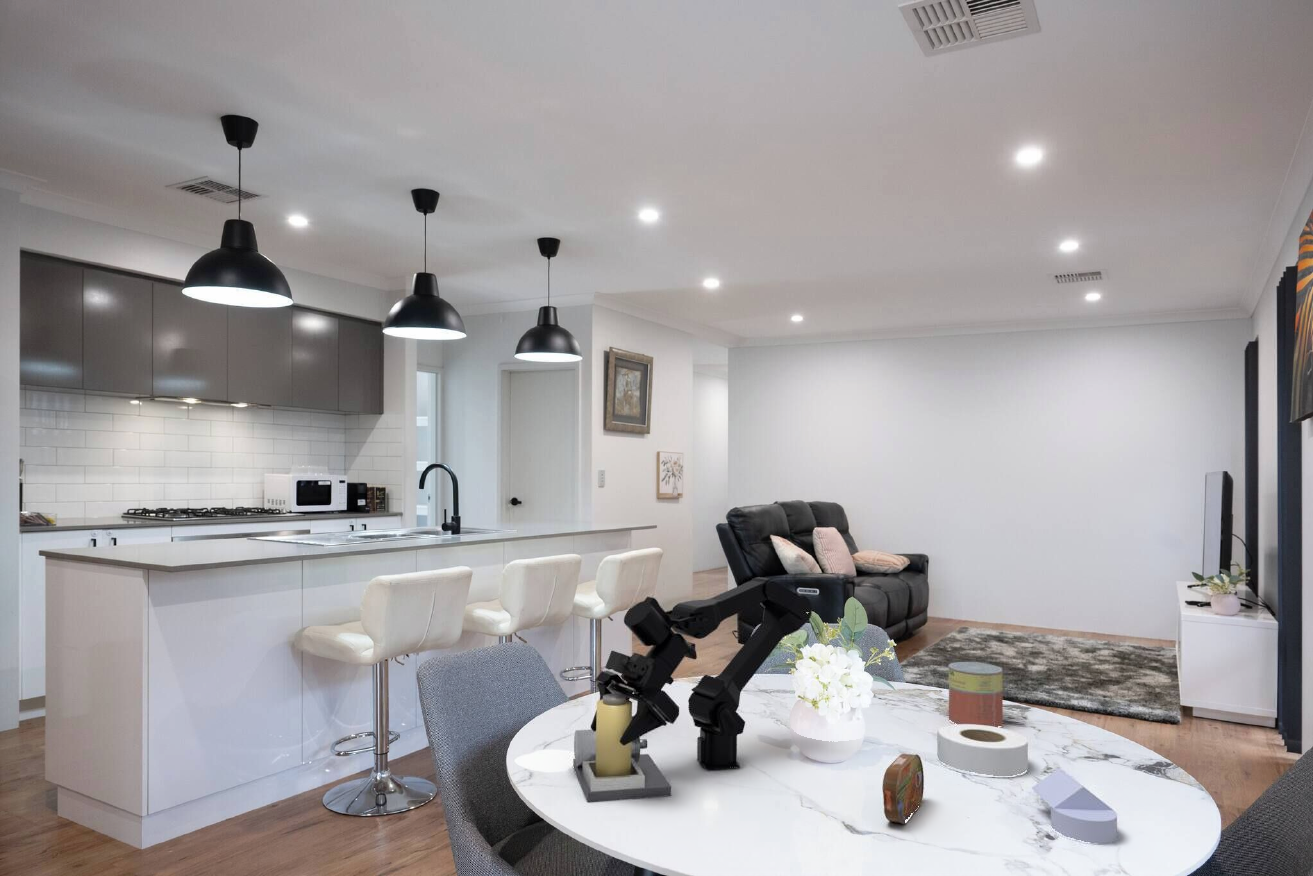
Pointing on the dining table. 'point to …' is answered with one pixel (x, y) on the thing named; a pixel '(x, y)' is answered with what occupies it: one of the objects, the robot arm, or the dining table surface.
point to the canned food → (975, 694)
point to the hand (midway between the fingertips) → (606, 736)
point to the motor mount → (637, 785)
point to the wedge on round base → (1077, 809)
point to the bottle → (612, 736)
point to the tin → (903, 787)
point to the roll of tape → (983, 749)
